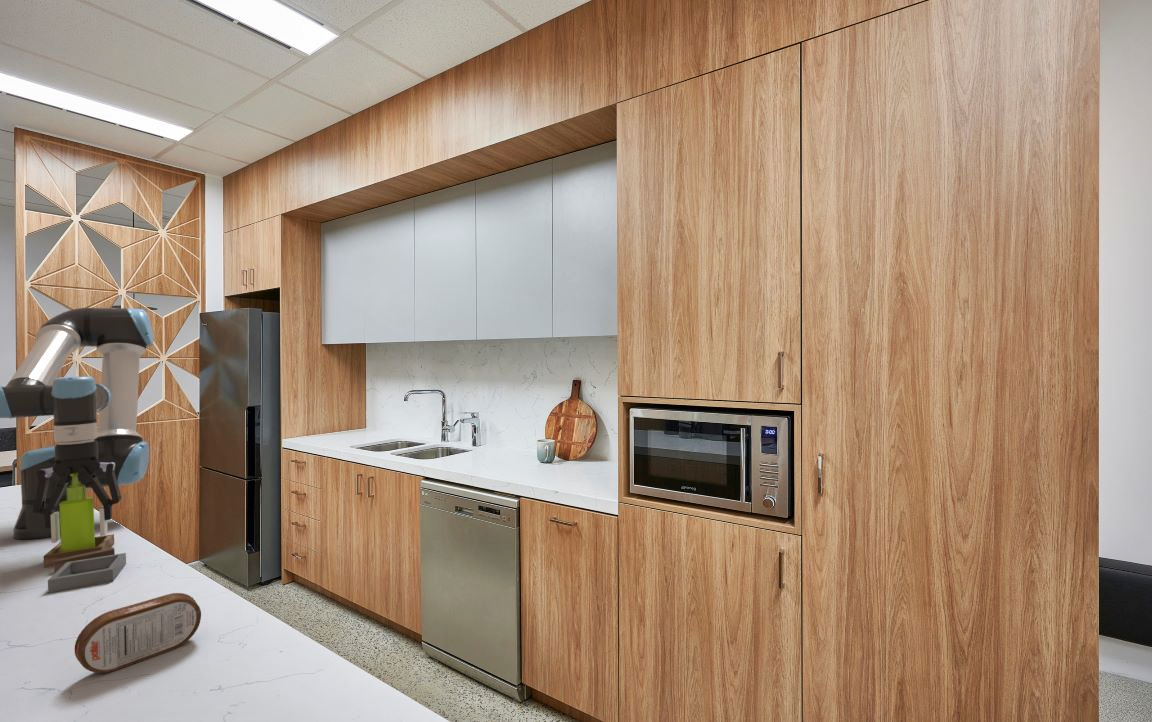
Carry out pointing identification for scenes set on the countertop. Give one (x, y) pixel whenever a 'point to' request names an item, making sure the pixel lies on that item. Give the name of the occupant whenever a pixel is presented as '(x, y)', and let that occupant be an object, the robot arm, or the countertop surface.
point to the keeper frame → (68, 581)
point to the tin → (137, 632)
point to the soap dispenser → (77, 518)
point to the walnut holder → (55, 553)
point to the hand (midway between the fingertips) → (80, 537)
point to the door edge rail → (82, 557)
